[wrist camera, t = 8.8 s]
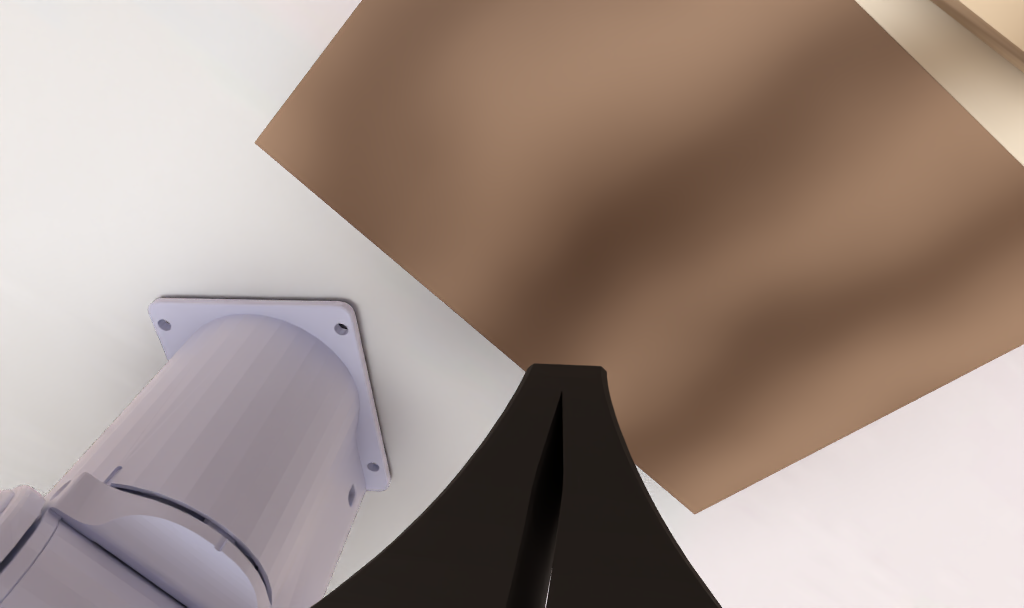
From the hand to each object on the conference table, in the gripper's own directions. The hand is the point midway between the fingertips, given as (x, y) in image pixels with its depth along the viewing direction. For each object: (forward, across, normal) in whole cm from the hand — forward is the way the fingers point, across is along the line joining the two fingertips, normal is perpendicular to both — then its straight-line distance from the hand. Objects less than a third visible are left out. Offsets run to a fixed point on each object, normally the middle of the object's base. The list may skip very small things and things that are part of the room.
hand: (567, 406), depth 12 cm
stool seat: (+10, -4, -2) cm, 12 cm away
